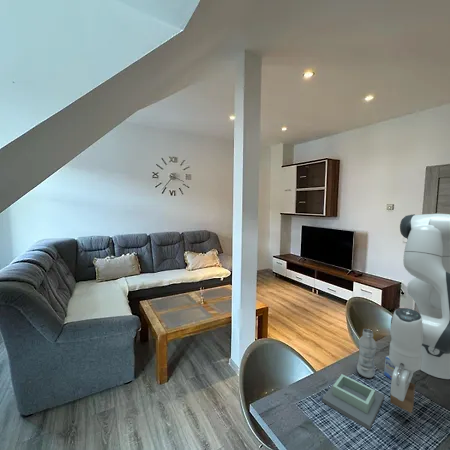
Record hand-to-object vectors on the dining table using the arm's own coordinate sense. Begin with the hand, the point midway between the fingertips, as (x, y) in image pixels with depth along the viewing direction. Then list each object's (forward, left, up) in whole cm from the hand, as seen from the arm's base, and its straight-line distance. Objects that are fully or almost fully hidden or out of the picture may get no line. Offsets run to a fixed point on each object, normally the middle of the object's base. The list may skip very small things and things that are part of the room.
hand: (402, 394), depth 85 cm
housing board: (+4, -14, -9) cm, 17 cm away
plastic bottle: (-14, -15, -9) cm, 22 cm away
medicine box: (-20, -5, -9) cm, 22 cm away
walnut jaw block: (0, 0, -4) cm, 4 cm away
